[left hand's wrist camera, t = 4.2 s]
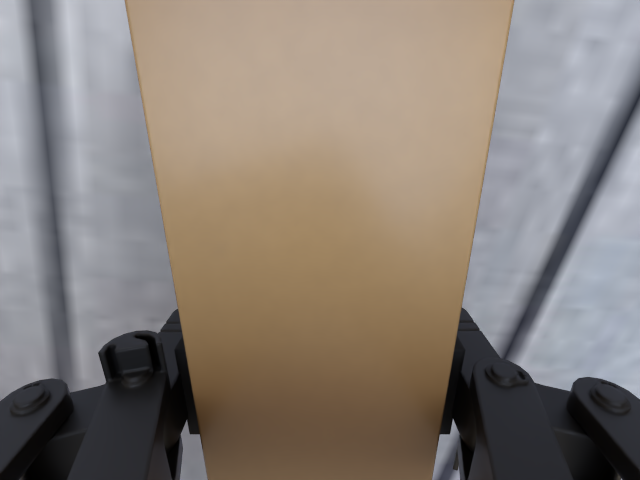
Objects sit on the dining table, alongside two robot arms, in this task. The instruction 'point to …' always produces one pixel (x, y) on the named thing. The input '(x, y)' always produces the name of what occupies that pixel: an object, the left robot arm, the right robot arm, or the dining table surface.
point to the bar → (319, 218)
